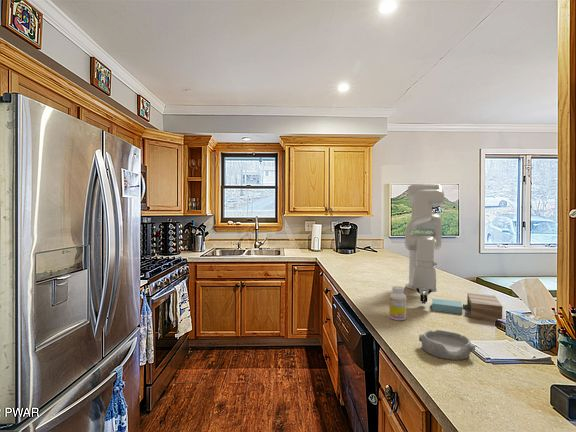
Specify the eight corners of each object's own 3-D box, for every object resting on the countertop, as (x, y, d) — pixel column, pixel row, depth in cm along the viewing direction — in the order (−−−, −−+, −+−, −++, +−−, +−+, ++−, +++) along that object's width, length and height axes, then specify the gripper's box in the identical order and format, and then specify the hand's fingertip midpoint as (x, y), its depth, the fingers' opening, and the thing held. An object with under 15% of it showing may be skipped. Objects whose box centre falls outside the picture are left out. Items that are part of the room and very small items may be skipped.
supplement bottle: (394, 314, 140) (394, 284, 139) (408, 318, 135) (409, 287, 135) (386, 318, 135) (386, 287, 135) (401, 322, 130) (402, 290, 130)
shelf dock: (462, 305, 153) (462, 292, 153) (494, 309, 148) (495, 295, 148) (465, 317, 137) (466, 302, 137) (502, 322, 132) (502, 306, 132)
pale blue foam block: (432, 304, 155) (432, 298, 155) (460, 308, 150) (460, 301, 150) (432, 310, 146) (432, 303, 146) (462, 313, 142) (462, 307, 141)
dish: (480, 359, 99) (481, 343, 99) (443, 364, 95) (444, 348, 95) (445, 340, 113) (445, 326, 113) (411, 344, 109) (412, 330, 109)
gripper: (442, 264, 152) (441, 303, 152) (408, 261, 158) (407, 298, 159) (442, 266, 145) (441, 307, 146) (407, 263, 151) (406, 303, 152)
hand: (423, 302), depth 152 cm, fingers closed
